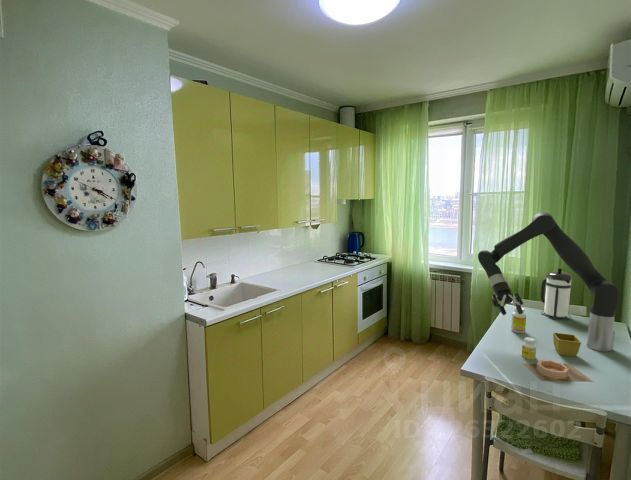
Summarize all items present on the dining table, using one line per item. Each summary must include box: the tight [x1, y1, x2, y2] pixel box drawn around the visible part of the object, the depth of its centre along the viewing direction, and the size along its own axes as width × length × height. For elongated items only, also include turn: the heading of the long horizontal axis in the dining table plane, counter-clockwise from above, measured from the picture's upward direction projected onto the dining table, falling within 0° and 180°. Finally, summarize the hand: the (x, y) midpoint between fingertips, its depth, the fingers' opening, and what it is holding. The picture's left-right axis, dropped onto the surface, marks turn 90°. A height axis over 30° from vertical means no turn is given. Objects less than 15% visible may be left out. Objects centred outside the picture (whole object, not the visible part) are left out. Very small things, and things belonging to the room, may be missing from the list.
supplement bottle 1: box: [510, 306, 527, 334], centre depth 190 cm, size 7×7×13 cm
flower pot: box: [552, 332, 582, 357], centre depth 162 cm, size 9×9×9 cm
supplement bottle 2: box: [521, 336, 537, 360], centre depth 159 cm, size 5×5×10 cm
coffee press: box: [540, 267, 573, 321], centre depth 210 cm, size 17×16×30 cm
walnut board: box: [523, 363, 594, 382], centre depth 146 cm, size 20×14×1 cm
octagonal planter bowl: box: [536, 359, 569, 379], centre depth 146 cm, size 10×10×3 cm
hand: (513, 314), depth 169 cm, fingers open, 8 cm apart
